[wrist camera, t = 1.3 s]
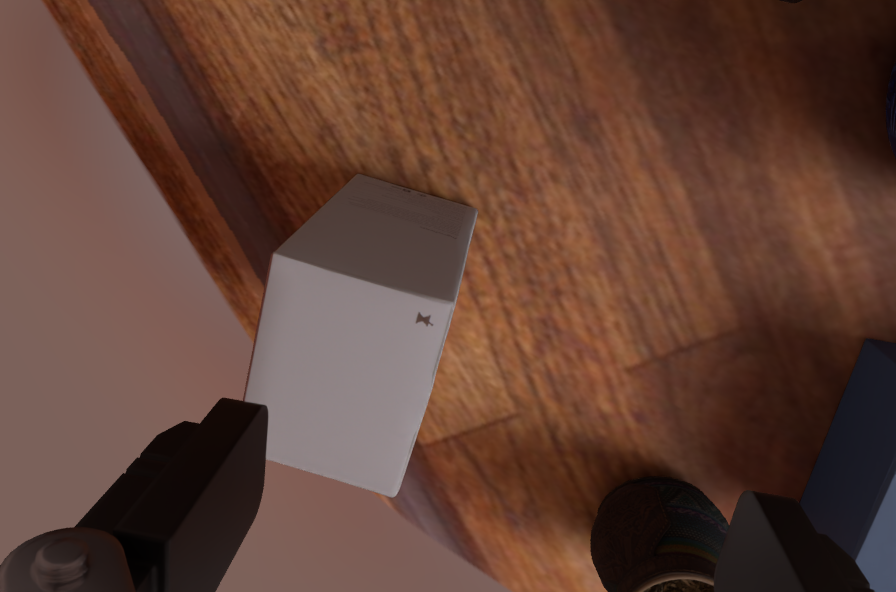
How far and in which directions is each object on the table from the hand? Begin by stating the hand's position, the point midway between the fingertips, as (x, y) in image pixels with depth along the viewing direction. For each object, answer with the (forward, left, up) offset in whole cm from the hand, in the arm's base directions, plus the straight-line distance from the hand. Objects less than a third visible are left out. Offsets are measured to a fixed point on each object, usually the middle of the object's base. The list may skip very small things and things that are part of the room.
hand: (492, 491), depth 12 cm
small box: (+5, -5, -24) cm, 25 cm away
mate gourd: (+17, +11, -24) cm, 32 cm away
